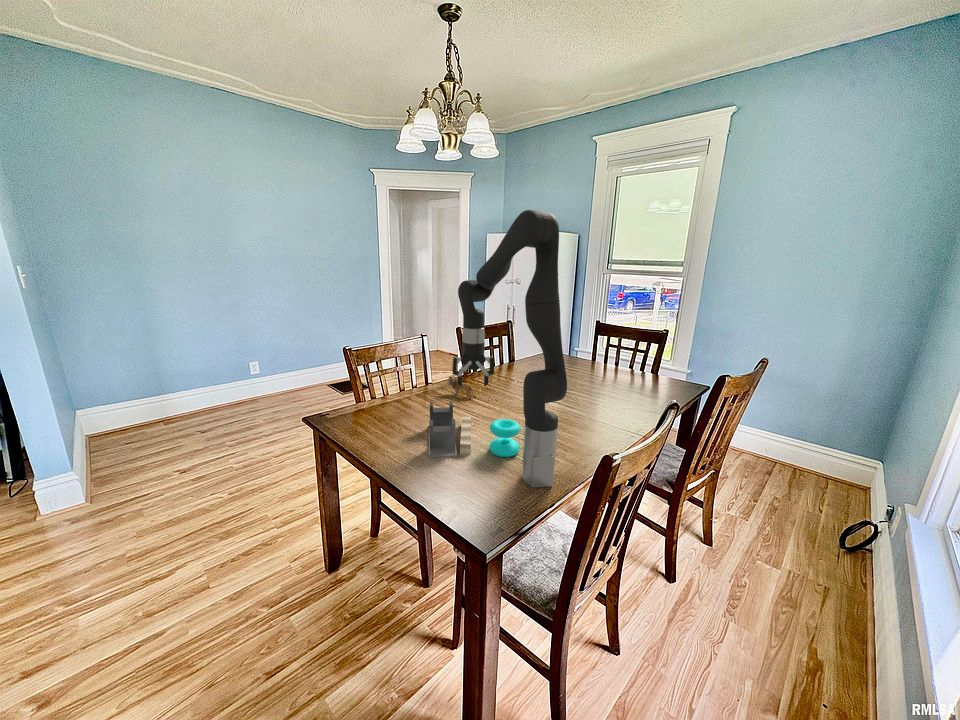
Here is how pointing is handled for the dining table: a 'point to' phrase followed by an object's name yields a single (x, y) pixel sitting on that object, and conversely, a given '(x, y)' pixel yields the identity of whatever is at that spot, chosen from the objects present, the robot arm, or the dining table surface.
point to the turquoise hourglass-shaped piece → (504, 437)
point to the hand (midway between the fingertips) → (473, 385)
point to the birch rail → (465, 436)
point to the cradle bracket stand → (442, 432)
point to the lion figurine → (465, 386)
